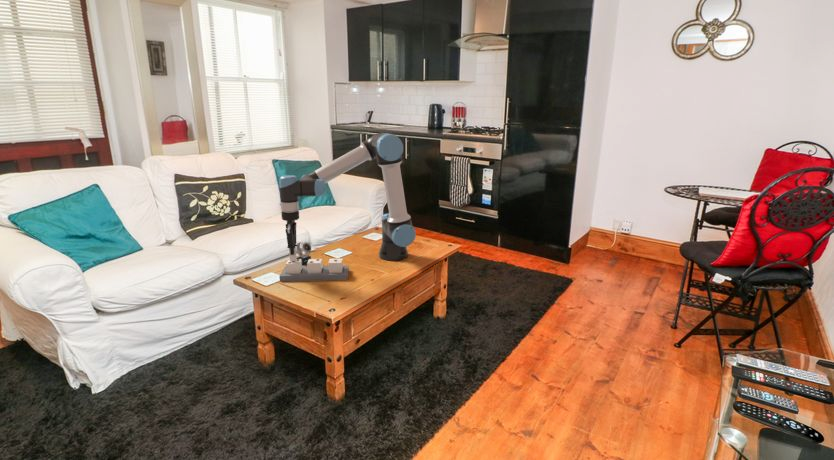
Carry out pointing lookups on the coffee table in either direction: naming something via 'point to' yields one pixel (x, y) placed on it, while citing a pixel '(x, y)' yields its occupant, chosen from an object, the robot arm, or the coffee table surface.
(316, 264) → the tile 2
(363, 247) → the coffee table surface
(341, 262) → the white die
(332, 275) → the board
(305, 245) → the watch
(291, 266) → the white die
